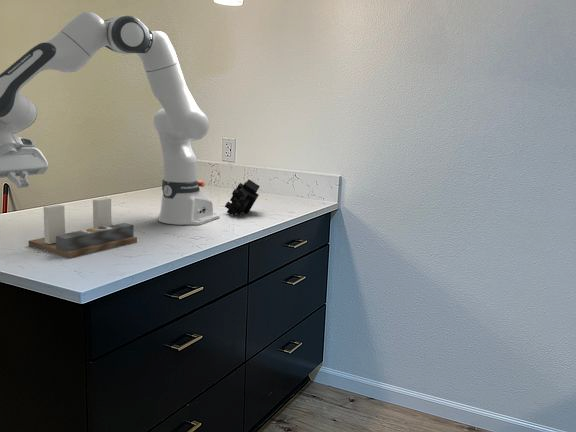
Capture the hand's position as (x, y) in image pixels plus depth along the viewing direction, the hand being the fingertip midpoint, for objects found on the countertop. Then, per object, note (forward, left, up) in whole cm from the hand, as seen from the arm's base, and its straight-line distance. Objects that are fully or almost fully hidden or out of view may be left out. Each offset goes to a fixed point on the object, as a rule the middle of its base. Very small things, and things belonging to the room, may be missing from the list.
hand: (23, 186), depth 162 cm
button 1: (0, +13, -14) cm, 19 cm away
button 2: (-16, +13, -14) cm, 25 cm away
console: (-8, +16, -16) cm, 23 cm away
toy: (-75, +21, -16) cm, 79 cm away
